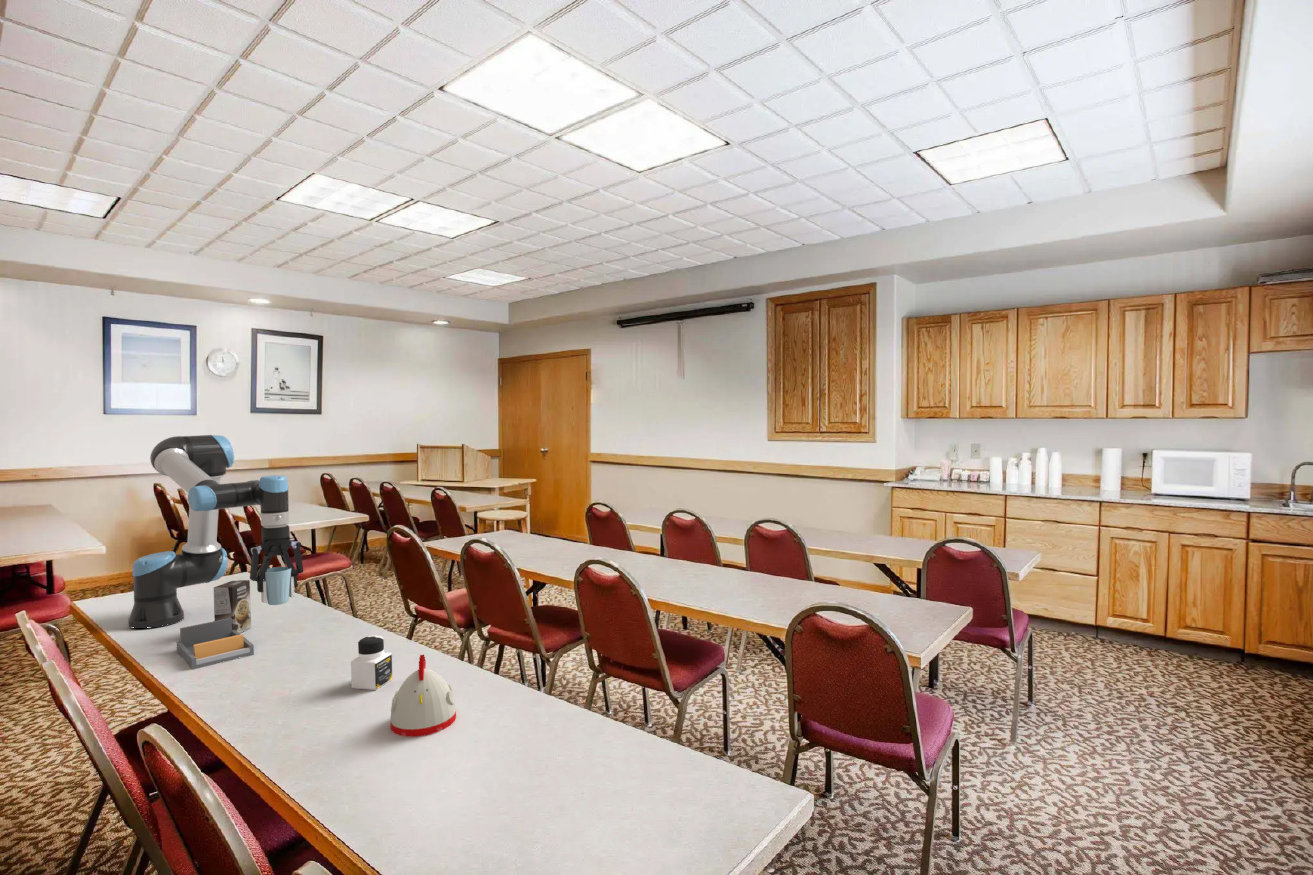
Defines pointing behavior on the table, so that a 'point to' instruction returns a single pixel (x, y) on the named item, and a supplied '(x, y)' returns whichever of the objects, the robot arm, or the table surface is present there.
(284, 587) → the cup
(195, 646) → the pusher
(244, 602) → the coffee box
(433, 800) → the table surface
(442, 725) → the kitchen timer
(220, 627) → the grey open rectangular box
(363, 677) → the medicine bottle
